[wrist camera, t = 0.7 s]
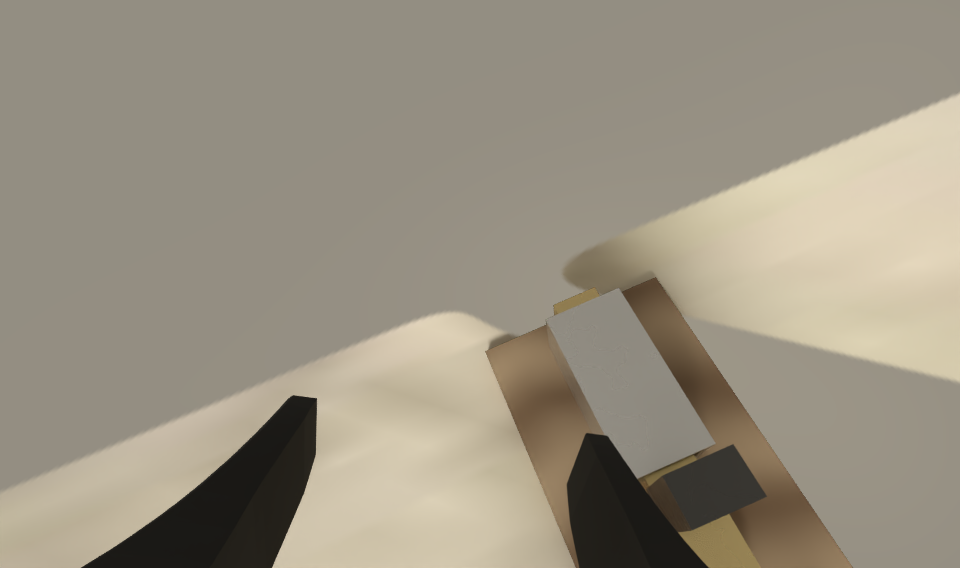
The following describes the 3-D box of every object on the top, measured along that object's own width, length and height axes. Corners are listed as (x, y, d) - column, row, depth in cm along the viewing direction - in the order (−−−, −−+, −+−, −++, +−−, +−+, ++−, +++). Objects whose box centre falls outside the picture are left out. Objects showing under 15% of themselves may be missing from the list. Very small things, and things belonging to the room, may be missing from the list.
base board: (1008, 814, 19) (1029, 827, 19) (735, 946, 19) (742, 965, 18) (653, 284, 33) (655, 277, 32) (487, 356, 32) (485, 351, 31)
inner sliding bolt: (763, 592, 22) (840, 611, 16) (704, 619, 22) (757, 649, 16) (596, 305, 31) (601, 238, 24) (552, 324, 30) (545, 262, 24)
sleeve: (695, 458, 26) (715, 443, 23) (621, 491, 26) (628, 482, 22) (613, 319, 31) (618, 287, 27) (549, 347, 31) (545, 319, 27)
